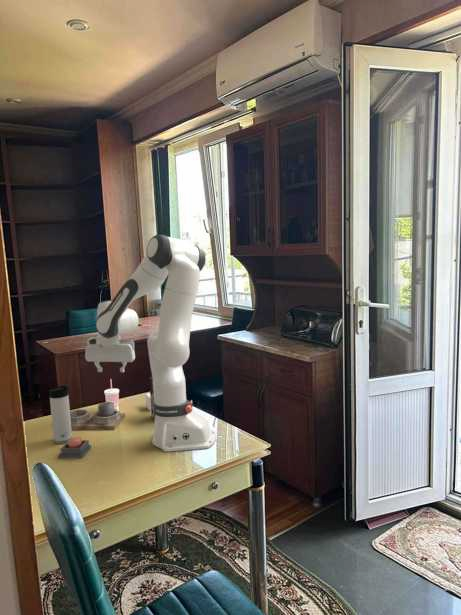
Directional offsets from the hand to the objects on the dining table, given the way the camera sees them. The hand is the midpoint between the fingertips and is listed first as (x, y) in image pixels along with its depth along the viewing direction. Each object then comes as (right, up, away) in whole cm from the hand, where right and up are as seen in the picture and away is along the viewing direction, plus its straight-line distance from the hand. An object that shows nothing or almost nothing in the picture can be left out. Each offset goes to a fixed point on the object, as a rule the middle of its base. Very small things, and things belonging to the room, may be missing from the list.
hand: (111, 371), depth 194 cm
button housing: (-3, -22, -37) cm, 43 cm away
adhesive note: (+18, -16, +4) cm, 24 cm away
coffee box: (+23, -17, -7) cm, 29 cm away
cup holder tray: (-5, -19, -11) cm, 22 cm away
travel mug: (-10, -21, -26) cm, 35 cm away
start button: (-3, -20, -37) cm, 42 cm away
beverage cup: (0, -17, +2) cm, 17 cm away
